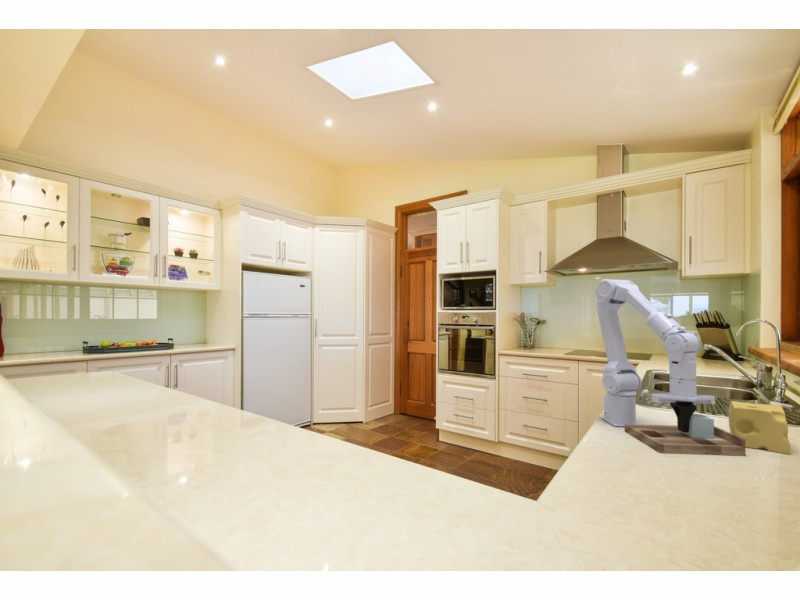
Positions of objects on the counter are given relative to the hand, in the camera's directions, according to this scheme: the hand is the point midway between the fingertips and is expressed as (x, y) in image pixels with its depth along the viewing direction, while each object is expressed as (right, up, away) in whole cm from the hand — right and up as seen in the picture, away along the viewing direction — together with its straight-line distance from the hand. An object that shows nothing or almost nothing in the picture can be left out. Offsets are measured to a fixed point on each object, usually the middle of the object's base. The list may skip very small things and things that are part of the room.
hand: (683, 431), depth 101 cm
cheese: (+19, -4, -1) cm, 19 cm away
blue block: (+3, -1, 0) cm, 3 cm away
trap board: (-1, -3, 0) cm, 3 cm away
